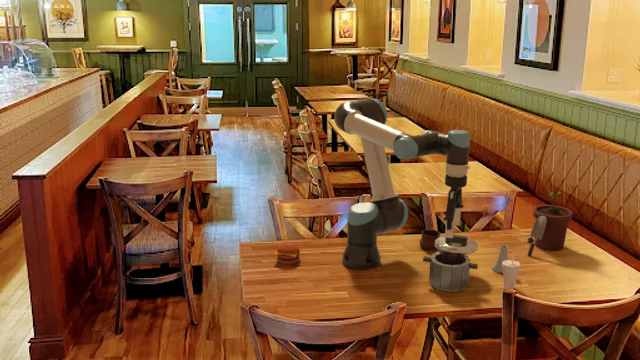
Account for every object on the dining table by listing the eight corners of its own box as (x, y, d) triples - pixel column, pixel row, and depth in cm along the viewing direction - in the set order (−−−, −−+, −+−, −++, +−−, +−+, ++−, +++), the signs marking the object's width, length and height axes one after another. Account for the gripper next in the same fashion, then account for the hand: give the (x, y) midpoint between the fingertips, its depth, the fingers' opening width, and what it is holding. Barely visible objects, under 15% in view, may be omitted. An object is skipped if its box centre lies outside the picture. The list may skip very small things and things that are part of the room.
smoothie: (508, 293, 223) (512, 256, 219) (496, 285, 229) (499, 250, 225) (521, 289, 226) (525, 253, 222) (509, 282, 231) (512, 247, 227)
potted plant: (578, 254, 257) (585, 196, 250) (528, 256, 254) (534, 198, 247) (556, 238, 274) (563, 183, 267) (509, 240, 271) (515, 185, 264)
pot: (418, 287, 227) (419, 262, 224) (426, 272, 240) (427, 248, 237) (472, 296, 220) (475, 270, 218) (478, 280, 233) (480, 255, 230)
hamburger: (296, 265, 245) (296, 250, 243) (273, 263, 248) (273, 248, 246) (303, 256, 254) (303, 241, 252) (280, 254, 256) (280, 239, 254)
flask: (512, 274, 238) (514, 250, 235) (492, 273, 239) (494, 248, 237) (510, 267, 245) (512, 243, 242) (491, 265, 246) (493, 241, 243)
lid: (430, 250, 234) (431, 240, 232) (439, 236, 248) (439, 226, 247) (474, 257, 228) (475, 246, 227) (480, 241, 242) (480, 231, 241)
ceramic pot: (425, 236, 276) (426, 221, 274) (459, 247, 264) (460, 232, 262) (400, 247, 264) (400, 232, 262) (434, 260, 252) (435, 244, 250)
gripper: (461, 185, 206) (456, 244, 212) (472, 166, 228) (468, 221, 235) (438, 182, 209) (434, 241, 215) (452, 164, 231) (448, 218, 237)
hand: (452, 231), depth 225 cm, fingers open, 13 cm apart
